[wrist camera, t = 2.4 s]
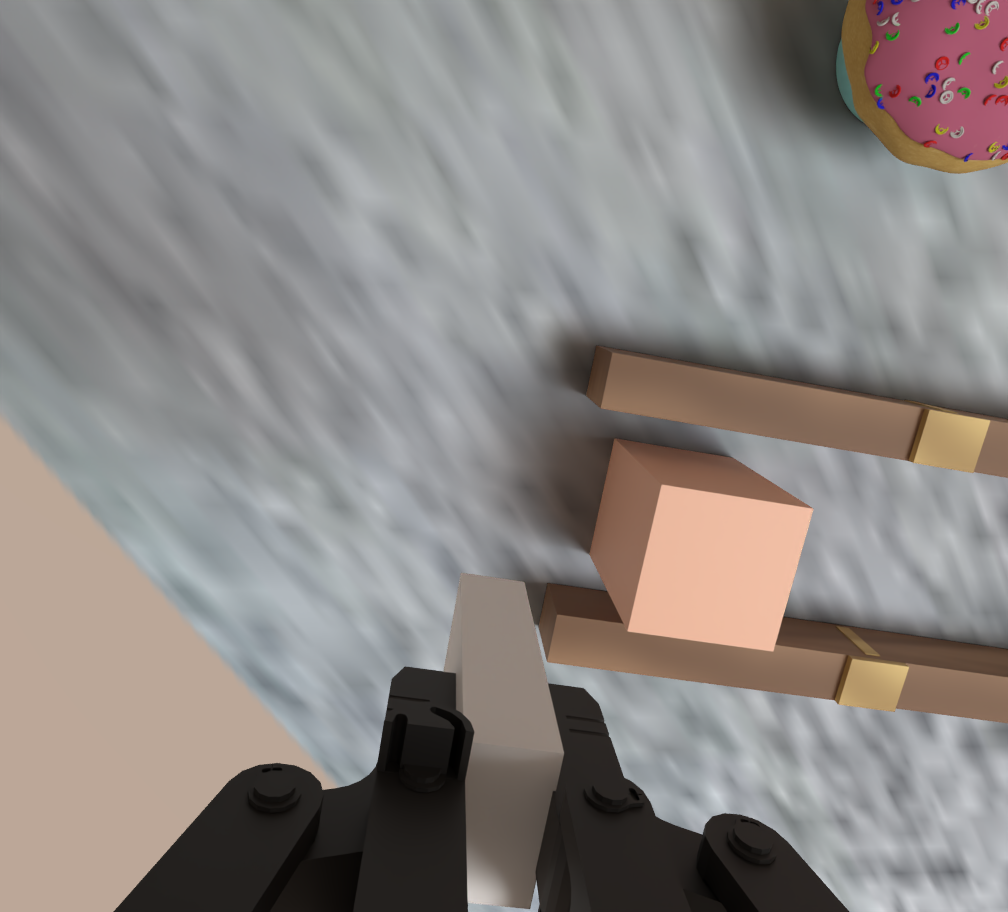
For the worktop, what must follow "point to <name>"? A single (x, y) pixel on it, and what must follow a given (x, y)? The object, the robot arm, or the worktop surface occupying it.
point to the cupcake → (929, 79)
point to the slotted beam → (800, 643)
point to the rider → (696, 545)
